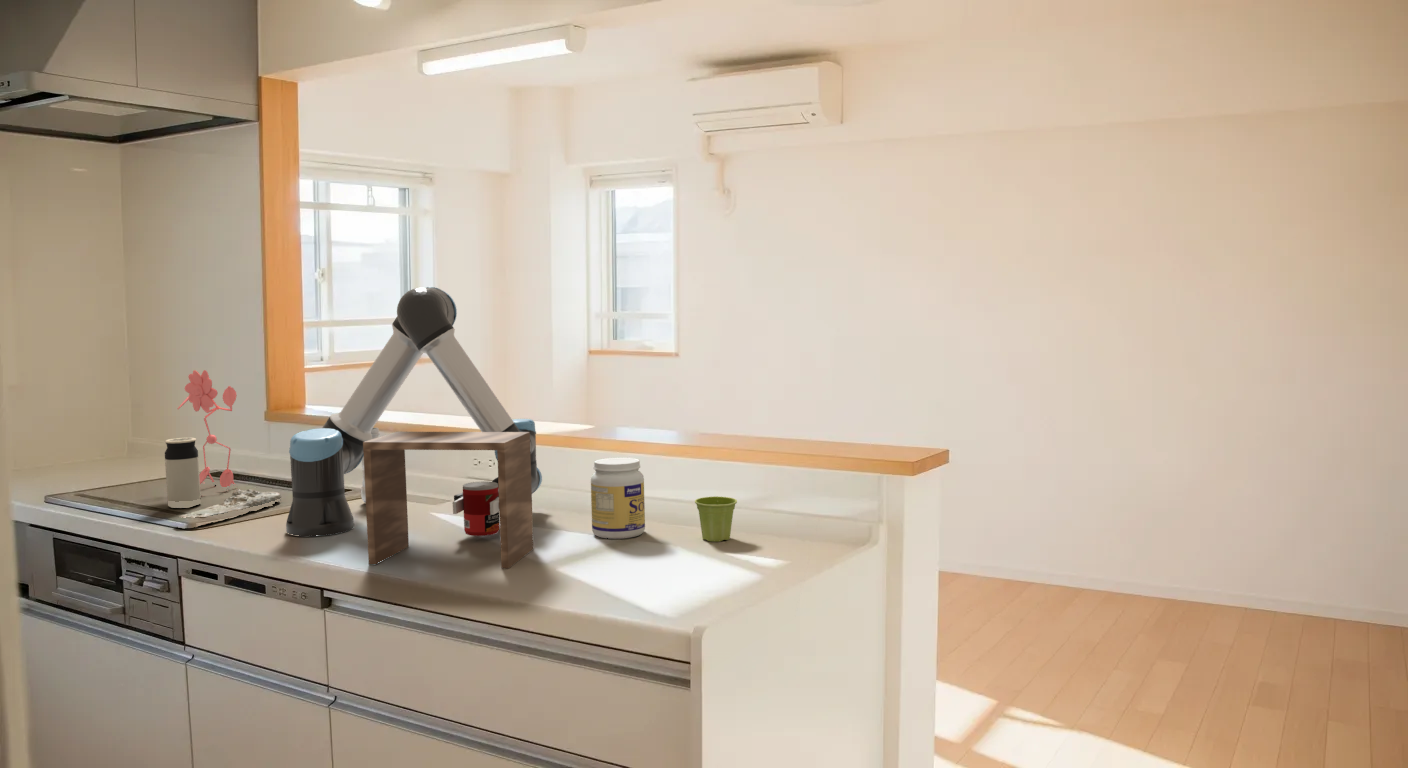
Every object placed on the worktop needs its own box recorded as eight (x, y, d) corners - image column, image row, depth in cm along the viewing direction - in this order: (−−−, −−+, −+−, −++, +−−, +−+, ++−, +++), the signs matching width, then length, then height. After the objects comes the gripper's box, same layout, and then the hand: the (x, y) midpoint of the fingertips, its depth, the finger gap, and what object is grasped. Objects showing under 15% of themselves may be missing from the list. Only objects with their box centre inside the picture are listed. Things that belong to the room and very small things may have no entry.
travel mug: (207, 505, 289) (203, 438, 287) (179, 510, 282) (175, 442, 281) (189, 502, 293) (185, 436, 292) (161, 507, 287) (157, 440, 285)
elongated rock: (163, 535, 261) (198, 539, 258) (162, 513, 260) (197, 517, 258) (259, 499, 294) (291, 502, 292) (258, 480, 294) (290, 483, 291)
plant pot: (739, 534, 244) (738, 496, 243) (736, 544, 235) (735, 504, 234) (697, 534, 245) (697, 496, 244) (693, 543, 236) (692, 504, 235)
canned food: (491, 536, 239) (490, 487, 238) (458, 535, 241) (456, 487, 240) (505, 529, 246) (503, 481, 245) (472, 528, 248) (470, 480, 247)
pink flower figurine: (199, 483, 323) (190, 366, 319) (258, 490, 310) (249, 368, 306) (152, 493, 309) (142, 371, 305) (211, 500, 297) (201, 374, 293)
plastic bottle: (359, 502, 289) (356, 428, 287) (385, 499, 292) (382, 426, 290) (363, 506, 283) (359, 430, 282) (389, 503, 286) (386, 429, 284)
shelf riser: (368, 565, 222) (363, 442, 220) (402, 546, 238) (397, 431, 236) (508, 568, 217) (504, 442, 215) (533, 549, 233) (529, 432, 231)
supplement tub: (633, 541, 239) (631, 466, 237) (582, 538, 243) (580, 464, 241) (653, 529, 250) (651, 457, 249) (605, 526, 254) (603, 455, 253)
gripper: (550, 505, 259) (518, 525, 237) (468, 503, 263) (429, 524, 240) (549, 474, 259) (517, 492, 236) (467, 473, 262) (427, 490, 240)
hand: (473, 508), depth 238 cm, fingers closed on canned food, 8 cm apart
